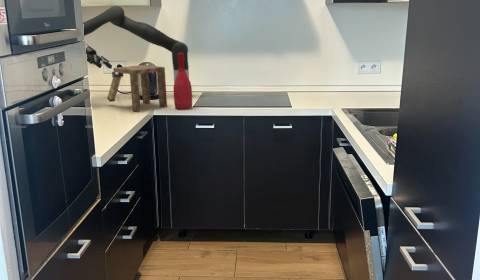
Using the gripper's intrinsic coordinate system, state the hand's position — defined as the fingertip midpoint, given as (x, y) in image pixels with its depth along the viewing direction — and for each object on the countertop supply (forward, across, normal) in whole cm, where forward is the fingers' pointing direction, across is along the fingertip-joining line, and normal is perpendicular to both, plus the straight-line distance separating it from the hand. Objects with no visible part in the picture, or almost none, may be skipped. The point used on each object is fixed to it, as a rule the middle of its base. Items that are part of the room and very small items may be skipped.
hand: (106, 66), depth 264 cm
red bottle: (+47, +13, -3) cm, 49 cm away
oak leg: (+7, +8, +17) cm, 20 cm away
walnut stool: (+26, +8, +10) cm, 29 cm away
